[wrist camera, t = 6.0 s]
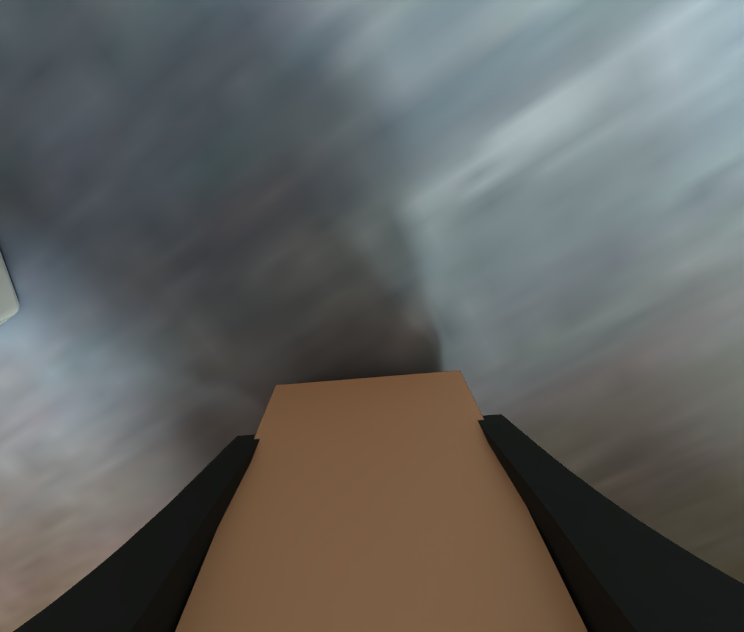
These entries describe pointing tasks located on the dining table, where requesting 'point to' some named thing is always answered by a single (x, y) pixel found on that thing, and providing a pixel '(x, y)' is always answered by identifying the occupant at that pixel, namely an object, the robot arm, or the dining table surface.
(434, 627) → the domino
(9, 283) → the jar
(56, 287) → the dining table surface
